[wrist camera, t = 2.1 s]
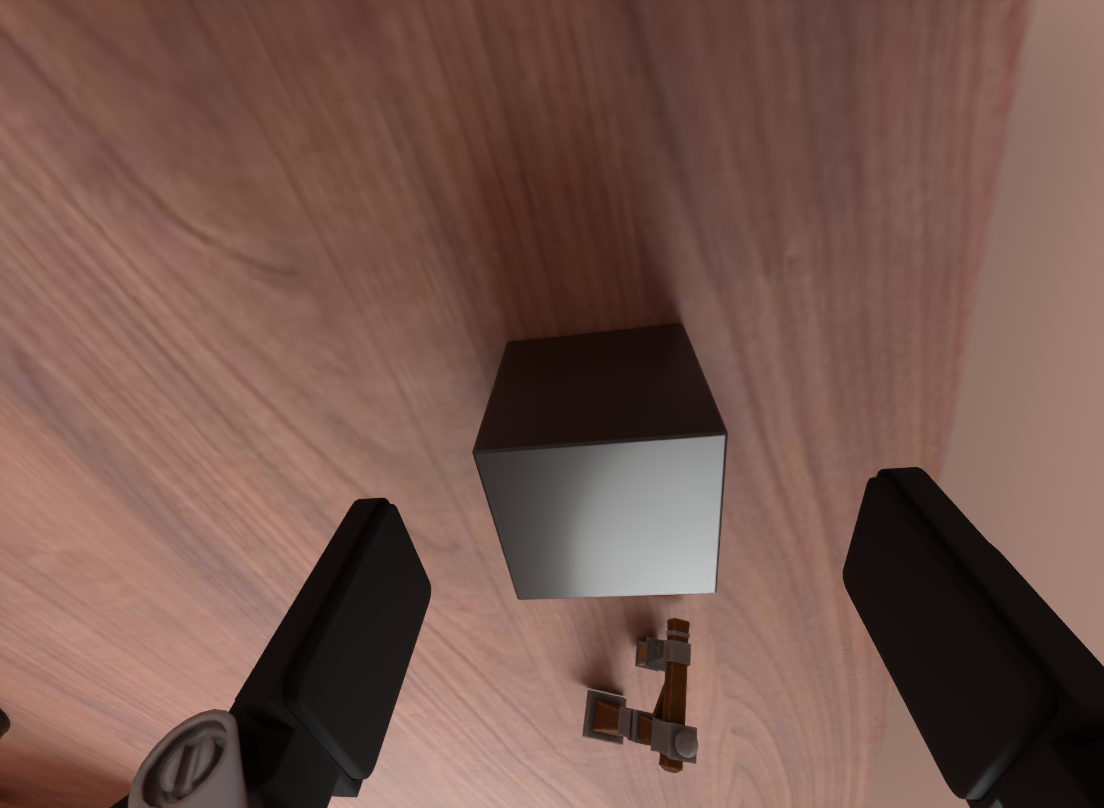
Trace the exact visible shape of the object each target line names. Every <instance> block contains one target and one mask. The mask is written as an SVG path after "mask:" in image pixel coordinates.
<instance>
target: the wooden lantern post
mask: <svg viewBox="0 0 1104 808" xmlns="http://www.w3.org/2000/svg"><path fill="white" fill-rule="evenodd" d="M667 624H668V631H666V635H667V640H665V641H663V640H659V639H655V638H651V637H646V642H643V641H639V640H637V651H636V664H635V666H638V667H642V668H646V669H650V670H655V671H658V670H660V671H665V682H664V685H663V688H662V690H661V693H660V696H659V699H658V701H657V704H656V707H655V709H654V712H653V713H648V712H644V711H639V710H635V709H630V708H626V699H624V698H623V697H618V696H614V695H609V694H605V693H600V692H596V691H591V690H588V693H587V701H586V710H585V718H584V726H583V735H582V737H585V738H590V739H595V740H600V741H604V742H609V743H614V744H619V745H621V744H623V736H625V737H627V739H628V740H631V741H632V742H635V743H640V744H645V745H650V746H651V751H657V752H659V753H660V760H659V765H660V766H661V767H662V768H663V769H664V770H665V771H668V772H673V773H677V772H680V771H682V768H683V761H684V762H690V763H695V764H696V753H697V750H698V742H697V728H695V727H690V726H685V711H686V685H687V666H690V656H691V644H689V643H688V638H689V636H690V634H689V625H690V623H689V622H688V621H685V620H680V619H676V618H673V619H669V620H668V621H667Z"/></svg>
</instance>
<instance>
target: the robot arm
mask: <svg viewBox="0 0 1104 808" xmlns="http://www.w3.org/2000/svg"><path fill="white" fill-rule="evenodd" d="M843 581H844V585H845V588H846V590H847V592H848V594H849V596H850V598H851V600H852V602H853V604H854V606H855V608H856V609H857V611H858V613H859V615H860V617H861V619H862V621H863V623H864V625H865V627H866V629H867V631H868V633H869V635H870V637H871V638H872V640H873V642H874V644H875V646H876V648H877V650H878V652H879V654H880V656H881V658H882V660H883V662H884V664H885V665H886V667H887V669H888V671H889V673H890V675H891V677H892V679H893V681H894V683H895V685H896V687H897V689H898V691H899V692H900V694H901V696H902V698H903V700H904V702H905V703H906V706H907V708H908V710H909V712H910V714H911V716H912V718H913V720H914V721H915V723H916V725H917V727H918V729H919V731H920V733H921V735H922V737H923V739H924V741H925V743H926V744H927V746H928V749H929V750H930V752H931V754H932V756H933V758H934V760H935V762H936V764H937V766H938V768H939V770H940V772H941V773H942V776H943V777H944V779H945V781H946V783H947V785H948V786H949V788H950V789H951V791H952V792H953V793H954V794H955V795H956V796H957V797H959V798H961V799H966V801H967V803H968V805H969V807H970V808H1104V666H1103V665H1102V664H1101V663H1100V662H1099V661H1098V660H1097V659H1096V658H1095V657H1094V655H1093V654H1092V653H1091V652H1090V651H1089V650H1088V649H1087V648H1086V647H1085V645H1084V644H1083V643H1082V642H1081V641H1080V640H1079V639H1078V638H1077V637H1076V636H1075V635H1074V633H1073V632H1072V631H1071V630H1070V629H1069V628H1068V627H1067V625H1065V623H1064V622H1063V621H1062V620H1061V619H1060V618H1059V617H1058V616H1057V614H1056V613H1055V612H1054V611H1053V610H1052V609H1051V608H1050V607H1049V606H1048V604H1047V603H1046V602H1045V601H1044V600H1043V599H1042V598H1041V597H1040V596H1039V595H1038V593H1037V592H1036V591H1035V590H1034V589H1033V588H1032V587H1031V586H1030V585H1029V583H1028V582H1027V581H1026V580H1025V579H1024V578H1023V577H1022V576H1021V575H1020V574H1019V572H1018V571H1017V570H1016V569H1015V568H1014V567H1013V566H1012V565H1011V563H1010V562H1009V561H1008V560H1007V559H1006V558H1005V557H1004V556H1003V555H1002V554H1001V553H1000V551H998V550H997V549H996V548H995V547H994V546H993V545H992V544H990V543H989V542H988V541H987V540H986V539H985V538H984V537H983V536H982V534H981V533H980V532H979V531H978V530H977V529H976V528H975V527H974V525H973V524H972V523H970V521H969V520H968V519H967V518H966V517H965V515H964V514H963V513H962V512H961V511H960V510H959V509H958V508H957V506H956V505H955V504H954V503H953V502H952V501H951V500H950V499H949V498H948V497H947V495H946V494H945V493H944V492H943V491H942V490H941V489H940V487H939V486H938V485H937V484H936V483H935V482H934V481H933V480H932V479H931V477H930V476H929V475H928V474H927V473H926V472H925V471H924V470H922V469H921V468H918V467H908V468H891V469H881V470H880V471H879V472H878V474H877V476H876V477H873V478H870V479H869V480H868V482H867V486H866V489H865V493H864V496H863V500H862V504H861V507H860V511H859V514H858V518H857V522H856V525H855V529H854V532H853V536H852V540H851V543H850V547H849V550H848V554H847V558H846V561H845V565H844V568H843ZM430 597H431V585H430V581H429V579H428V577H427V575H426V572H425V570H424V568H423V566H422V563H421V561H420V559H419V557H418V554H417V552H416V550H415V548H414V545H413V543H412V541H411V538H410V536H409V534H408V532H407V529H406V527H405V525H404V523H403V520H402V518H401V516H400V514H399V511H398V509H397V507H396V506H395V505H394V504H390V503H389V501H388V500H387V499H386V498H370V499H358V500H356V501H355V502H354V503H353V504H352V506H351V507H350V509H349V511H348V512H347V514H346V516H345V517H344V519H343V521H342V522H341V524H340V526H339V527H338V529H337V531H336V532H335V534H334V536H333V537H332V539H331V541H330V542H329V544H328V546H327V547H326V549H325V551H324V552H323V554H322V556H321V557H320V559H319V561H318V562H317V564H316V566H315V567H314V569H313V571H312V572H311V574H310V575H309V577H308V579H307V580H306V582H305V584H304V585H303V587H302V589H301V590H300V592H299V594H298V595H297V597H296V599H295V600H294V602H293V604H292V605H291V607H290V609H289V610H288V612H287V614H286V615H285V617H284V619H283V620H282V622H281V624H280V625H279V627H278V629H277V630H276V632H275V634H274V635H273V637H272V639H271V640H270V642H269V644H268V645H267V647H266V649H265V650H264V652H263V654H262V655H261V657H260V659H259V660H258V662H257V664H256V665H255V667H254V669H253V670H252V672H251V674H250V675H249V677H248V678H247V680H246V682H245V683H244V685H243V687H242V688H241V690H240V692H239V693H238V695H237V697H236V698H235V702H234V704H233V705H232V707H231V709H230V710H229V712H227V711H225V710H217V709H213V710H209V711H205V712H201V713H199V714H197V715H195V716H193V717H191V718H189V719H187V720H185V721H183V722H182V723H181V724H179V725H178V726H177V727H175V728H174V729H173V730H171V731H170V732H169V733H168V734H167V735H166V736H165V737H164V738H163V739H162V740H161V741H160V742H159V743H158V744H157V745H156V746H155V747H154V748H153V749H152V751H151V752H150V753H149V755H148V756H147V757H146V759H145V760H144V761H143V763H142V764H141V766H140V768H139V770H138V772H137V774H136V776H135V778H134V780H133V782H132V786H131V790H130V794H129V795H127V796H126V797H124V798H123V799H121V800H120V801H119V802H117V803H116V804H114V805H113V806H112V807H110V808H327V807H328V804H329V802H330V799H331V796H338V797H357V796H358V793H359V790H360V788H361V785H362V782H363V779H367V778H368V777H369V776H370V775H371V773H372V772H373V770H374V767H375V765H376V762H377V759H378V756H379V753H380V750H381V747H382V744H383V741H384V738H385V735H386V732H387V729H388V726H389V723H390V720H391V716H392V713H393V710H394V707H395V704H396V701H397V698H398V695H399V692H400V689H401V686H402V683H403V680H404V677H405V674H406V671H407V668H408V665H409V662H410V659H411V656H412V653H413V650H414V647H415V644H416V641H417V638H418V635H419V632H420V629H421V626H422V623H423V620H424V617H425V613H426V610H427V607H428V604H429V601H430Z"/></svg>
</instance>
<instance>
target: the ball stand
mask: <svg viewBox="0 0 1104 808" xmlns="http://www.w3.org/2000/svg"><path fill="white" fill-rule="evenodd" d="M9 727H10V722H9V720H8V718H7V717H6V715H5V714H4V713H3V712H2V711H1V710H0V739H1V737H2V736H3V735H4V734H5V733H6V732H7V731H8V729H9Z"/></svg>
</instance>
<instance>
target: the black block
mask: <svg viewBox="0 0 1104 808" xmlns="http://www.w3.org/2000/svg"><path fill="white" fill-rule="evenodd" d="M727 437H728V432H727V430H726V427H725V425H724V422H723V420H722V418H721V415H720V413H719V410H718V408H717V405H716V403H715V401H714V398H713V396H712V393H711V391H710V388H709V386H708V383H707V381H706V379H705V376H704V374H703V371H702V369H701V366H700V364H699V361H698V359H697V357H696V354H695V352H694V349H693V347H692V344H691V342H690V340H689V337H688V335H687V332H686V330H685V327H684V325H683V324H672V325H663V326H654V327H645V328H635V329H626V330H617V331H607V332H598V333H589V334H580V335H570V336H561V337H552V338H543V339H533V340H524V341H515V342H508V343H507V344H506V347H505V351H504V354H503V357H502V360H501V363H500V366H499V369H498V373H497V376H496V379H495V382H494V385H493V388H492V391H491V395H490V398H489V401H488V404H487V407H486V410H485V413H484V417H483V420H482V423H481V426H480V429H479V432H478V435H477V439H476V442H475V445H474V448H473V452H472V453H473V456H474V459H475V463H476V466H477V469H478V472H479V476H480V479H481V482H482V485H483V489H484V492H485V495H486V498H487V501H488V505H489V508H490V511H491V514H492V518H493V521H494V524H495V527H496V531H497V534H498V537H499V540H500V543H501V547H502V550H503V553H504V556H505V560H506V563H507V566H508V569H509V573H510V576H511V579H512V582H513V586H514V589H515V592H516V595H517V598H518V599H519V600H528V599H559V598H590V597H620V596H651V595H681V594H712V593H716V590H717V576H718V562H719V548H720V534H721V521H722V507H723V493H724V479H725V465H726V451H727Z"/></svg>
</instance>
